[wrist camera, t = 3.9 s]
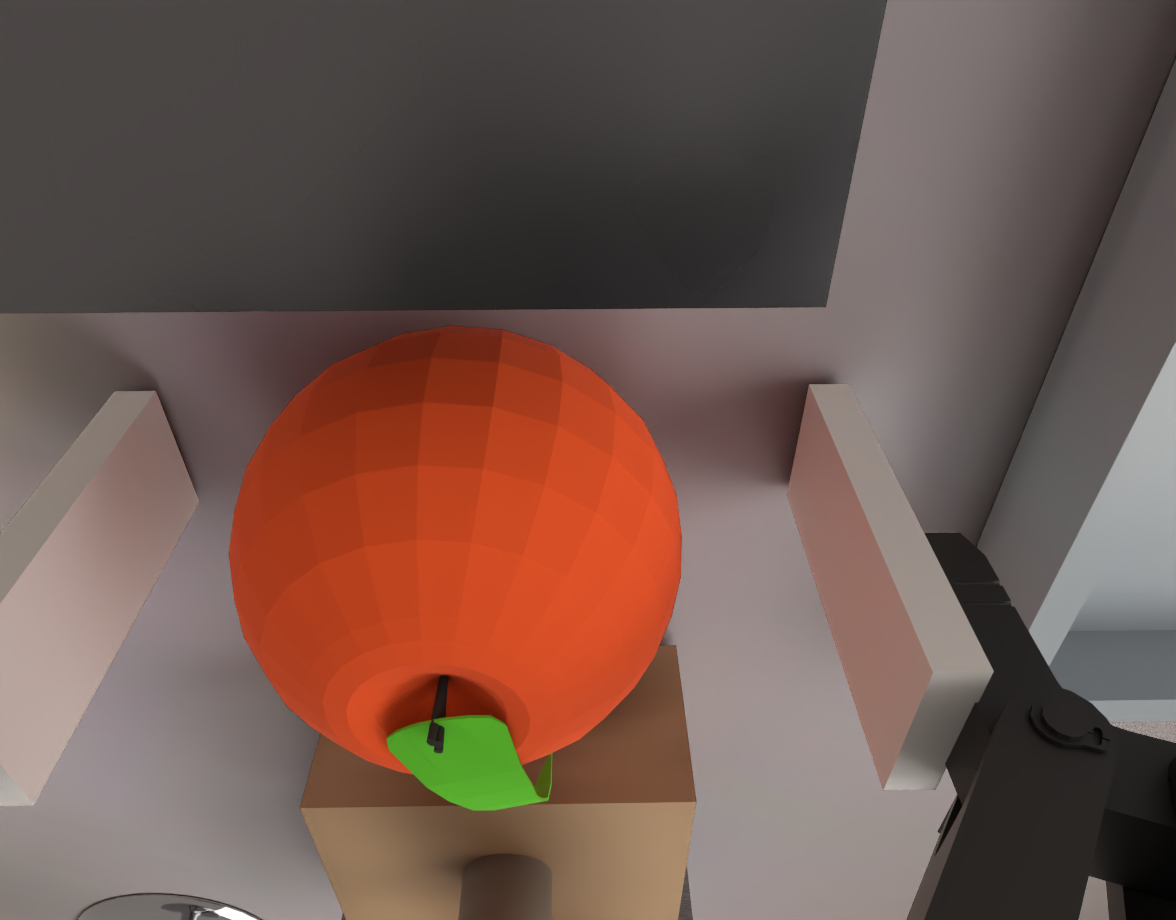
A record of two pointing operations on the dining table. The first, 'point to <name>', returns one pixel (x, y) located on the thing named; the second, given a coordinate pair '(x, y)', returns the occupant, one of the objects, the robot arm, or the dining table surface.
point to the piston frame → (427, 154)
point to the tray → (1106, 464)
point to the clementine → (456, 557)
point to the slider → (521, 827)
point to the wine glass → (162, 909)
